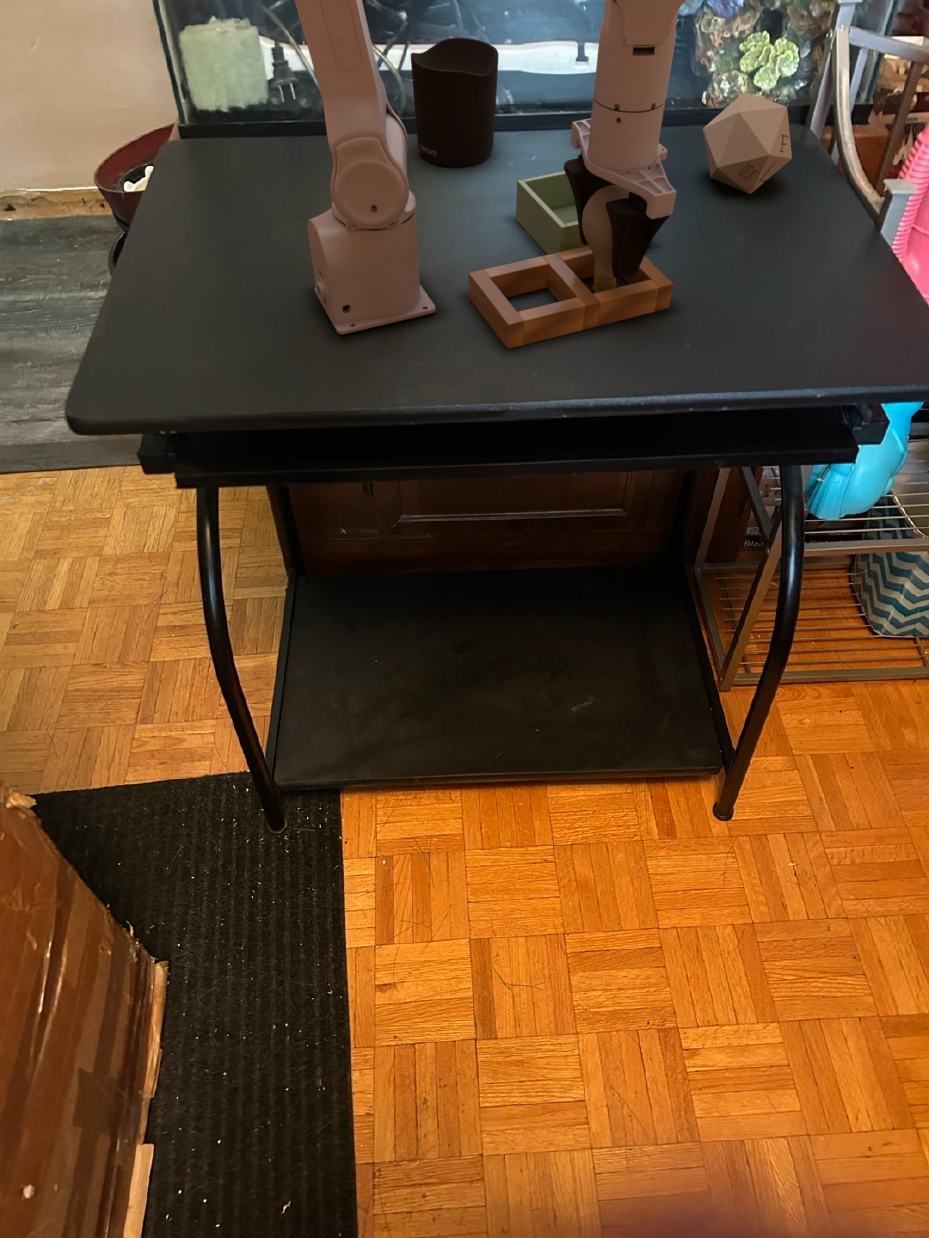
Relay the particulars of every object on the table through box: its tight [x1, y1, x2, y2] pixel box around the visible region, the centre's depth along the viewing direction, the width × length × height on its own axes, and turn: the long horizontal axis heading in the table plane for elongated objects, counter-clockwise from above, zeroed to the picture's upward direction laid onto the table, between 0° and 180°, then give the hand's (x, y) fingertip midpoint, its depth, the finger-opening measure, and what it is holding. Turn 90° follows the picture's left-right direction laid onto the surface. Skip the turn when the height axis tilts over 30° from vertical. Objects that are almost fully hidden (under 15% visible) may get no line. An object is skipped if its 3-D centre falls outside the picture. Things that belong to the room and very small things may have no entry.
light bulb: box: [582, 185, 630, 293], centre depth 79 cm, size 6×5×10 cm
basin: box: [515, 170, 589, 255], centre depth 89 cm, size 10×10×4 cm
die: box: [702, 91, 793, 195], centre depth 94 cm, size 8×9×10 cm
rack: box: [468, 246, 674, 350], centre depth 82 cm, size 16×9×2 cm, turn 112°
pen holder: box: [410, 37, 500, 168], centre depth 98 cm, size 9×9×10 cm
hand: (608, 258), depth 81 cm, fingers open, 6 cm apart
